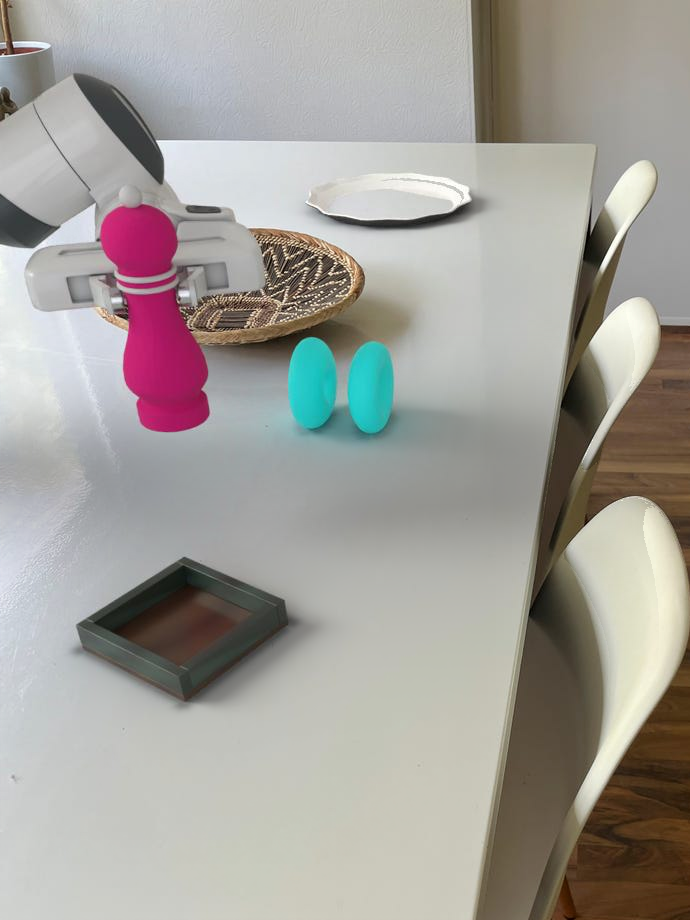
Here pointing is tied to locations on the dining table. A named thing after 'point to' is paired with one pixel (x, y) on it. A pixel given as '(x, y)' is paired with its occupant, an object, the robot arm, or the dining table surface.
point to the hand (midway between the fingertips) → (152, 301)
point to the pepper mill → (154, 317)
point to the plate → (345, 186)
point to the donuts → (318, 385)
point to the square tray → (183, 627)
